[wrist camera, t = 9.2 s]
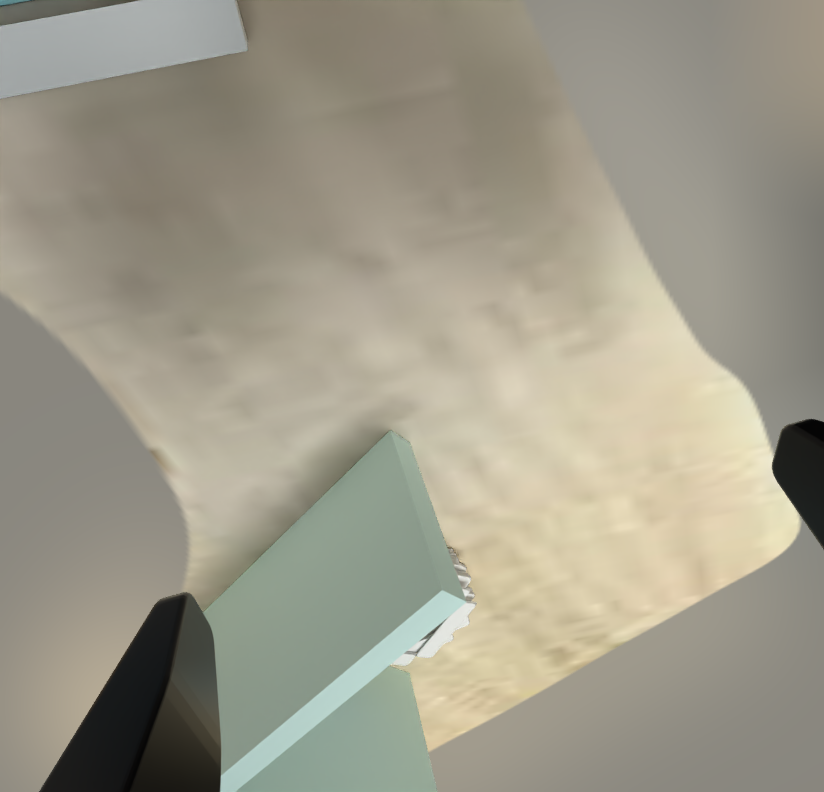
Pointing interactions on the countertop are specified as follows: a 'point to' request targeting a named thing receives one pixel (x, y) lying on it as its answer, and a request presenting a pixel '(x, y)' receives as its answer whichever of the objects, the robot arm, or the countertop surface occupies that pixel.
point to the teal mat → (11, 2)
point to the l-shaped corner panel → (338, 638)
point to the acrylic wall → (115, 42)
